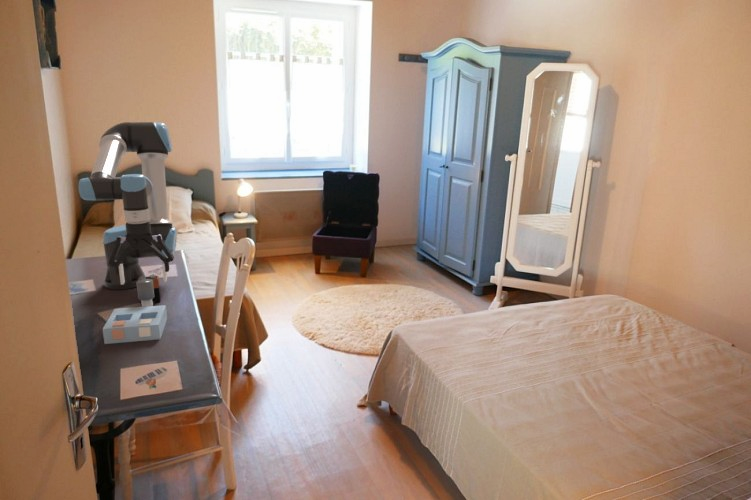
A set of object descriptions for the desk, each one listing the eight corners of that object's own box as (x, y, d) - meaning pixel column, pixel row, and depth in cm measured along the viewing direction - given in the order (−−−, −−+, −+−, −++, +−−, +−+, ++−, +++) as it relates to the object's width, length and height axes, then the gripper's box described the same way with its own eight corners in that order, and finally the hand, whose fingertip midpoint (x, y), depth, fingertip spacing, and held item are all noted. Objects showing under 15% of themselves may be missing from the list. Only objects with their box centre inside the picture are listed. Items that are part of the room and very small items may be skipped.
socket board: (116, 322, 174) (114, 307, 172) (167, 318, 177) (165, 304, 176) (104, 344, 158) (101, 328, 157) (160, 339, 162) (158, 324, 161)
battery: (160, 302, 192) (157, 276, 189) (140, 304, 189) (137, 278, 186) (160, 298, 195) (158, 272, 193) (141, 300, 193) (138, 274, 190)
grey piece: (141, 311, 183) (137, 279, 180) (157, 310, 184) (153, 278, 181) (138, 317, 178) (134, 284, 175) (155, 315, 180) (151, 283, 176)
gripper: (93, 225, 166) (101, 288, 171) (176, 222, 171) (181, 283, 177) (99, 220, 173) (107, 280, 178) (178, 217, 178) (184, 276, 184)
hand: (144, 282), depth 178 cm, fingers open, 13 cm apart
